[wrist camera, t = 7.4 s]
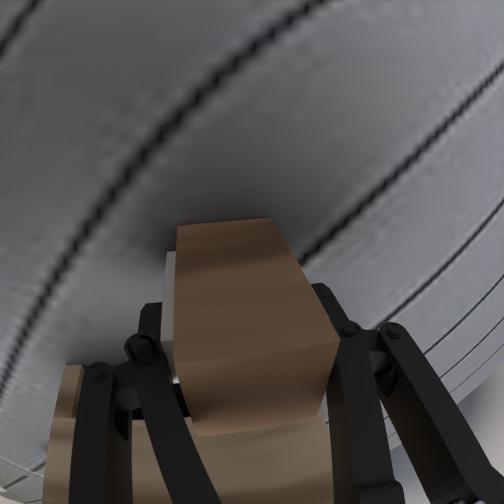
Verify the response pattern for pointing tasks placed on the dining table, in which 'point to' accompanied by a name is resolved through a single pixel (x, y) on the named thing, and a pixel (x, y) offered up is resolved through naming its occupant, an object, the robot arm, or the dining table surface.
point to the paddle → (247, 329)
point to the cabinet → (208, 458)
